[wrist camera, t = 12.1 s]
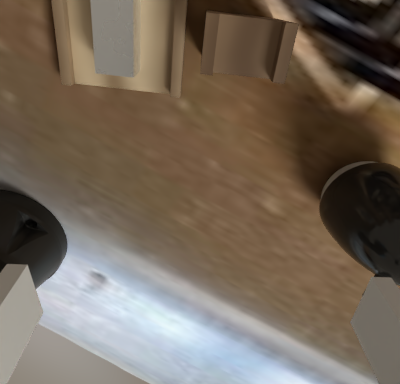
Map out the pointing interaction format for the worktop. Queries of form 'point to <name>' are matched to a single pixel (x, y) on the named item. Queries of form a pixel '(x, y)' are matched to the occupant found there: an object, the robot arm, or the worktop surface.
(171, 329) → the worktop surface
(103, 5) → the rail
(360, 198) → the pump dispenser
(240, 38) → the cradle posts
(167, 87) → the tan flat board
